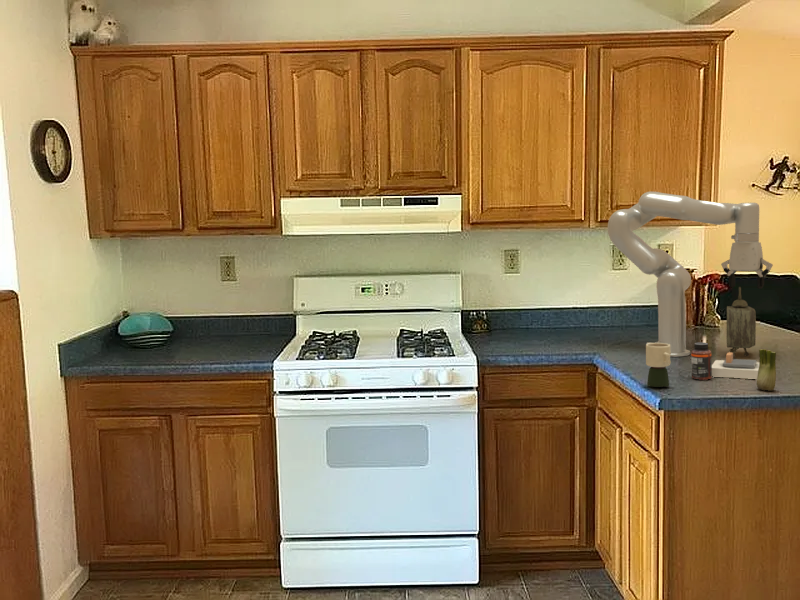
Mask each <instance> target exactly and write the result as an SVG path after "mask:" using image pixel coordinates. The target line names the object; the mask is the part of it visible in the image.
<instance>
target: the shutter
mask: <svg viewBox="0 0 800 600" xmlns="http://www.w3.org/2000/svg"><path fill="white" fill-rule="evenodd" d="M757 362H758V361H757V360H756V359H740V358H739V359H738V358H733V353H732V352H730V351H729V352H728V351H727V353H726V354H725V361H724V363H723V366H728V367H746V368H754V367H755V365H756V363H757Z"/></svg>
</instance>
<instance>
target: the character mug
mask: <svg viewBox="0 0 800 600" xmlns="http://www.w3.org/2000/svg"><path fill="white" fill-rule="evenodd" d="M670 354H671V350H670V344H665V343H656V342H652V343H650V344H647V343H646V344H645V366H648V367H649V370H648V375H647V386H648V387H653V388H654V387H655V388H656V387H657V388H658V387H659V388H660V387H662V388H663V387H668V388H669V387H670V381H669V380H670V379H669V378H670V377H669V373H668V369H667V368H666V367H669V366H670V365H671V364H672V363H671V362H672V361H671V357H670Z"/></svg>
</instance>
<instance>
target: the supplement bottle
mask: <svg viewBox="0 0 800 600" xmlns="http://www.w3.org/2000/svg"><path fill="white" fill-rule="evenodd" d="M693 344H694V349H692V350H691V351H690V358H691V359H690V360H691V361H690V362H691V364H690V365H691V367H690V369H691V378H692V379H693V378H694V379H693V380H695V379H699V380H698V381H709V380H708V379H710V380H711V379H712V378H713V377H712V364H713V363H712V362H713V361H712V360H713V359H712V351H711V350H710V349H709V344H708V342H695V343H693Z"/></svg>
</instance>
